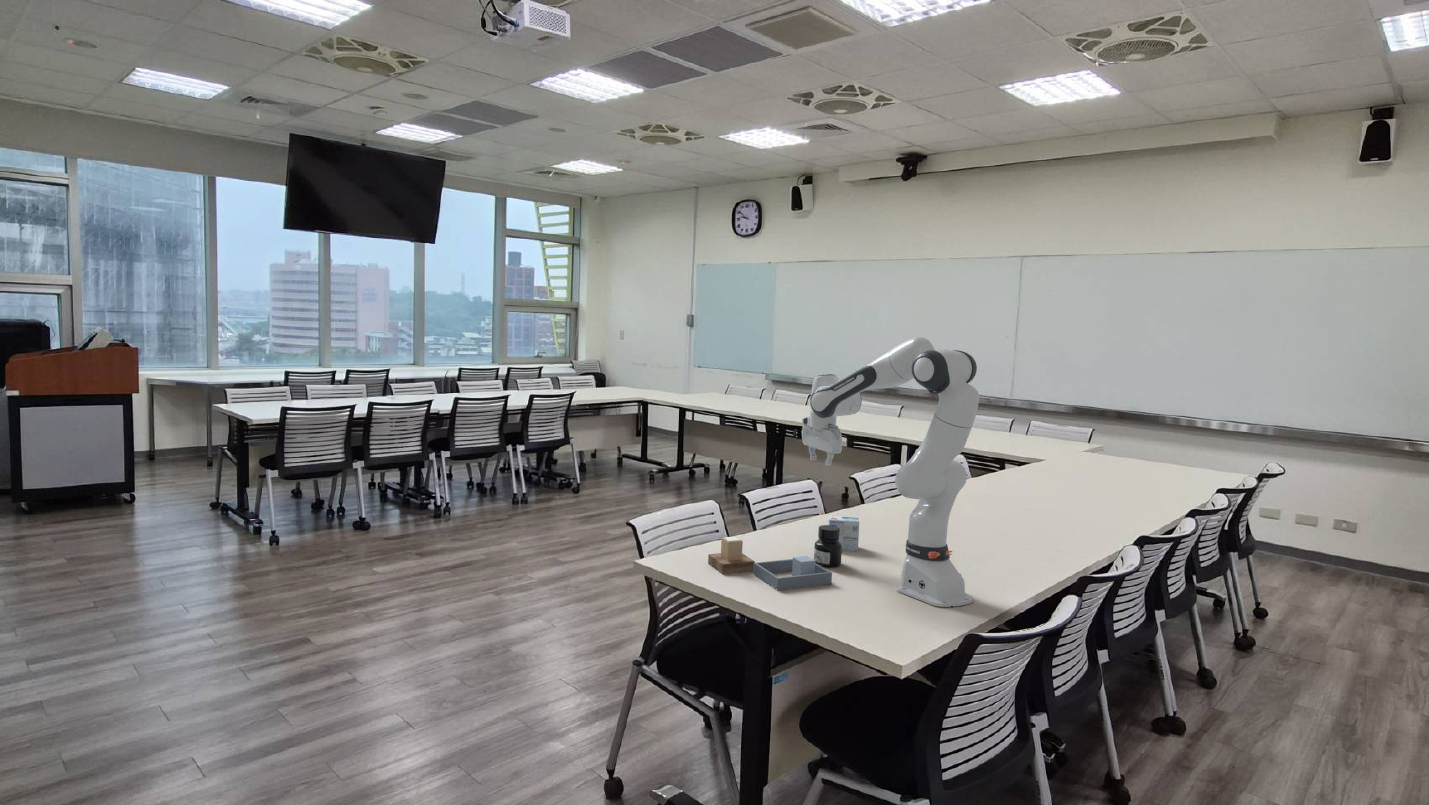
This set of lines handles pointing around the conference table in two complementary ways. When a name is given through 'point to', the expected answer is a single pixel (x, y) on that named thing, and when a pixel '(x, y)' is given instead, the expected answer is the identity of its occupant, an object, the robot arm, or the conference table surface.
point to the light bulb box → (846, 531)
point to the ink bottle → (828, 546)
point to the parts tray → (769, 567)
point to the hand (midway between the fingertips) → (820, 462)
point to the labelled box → (731, 548)
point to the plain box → (803, 566)
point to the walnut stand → (730, 564)
